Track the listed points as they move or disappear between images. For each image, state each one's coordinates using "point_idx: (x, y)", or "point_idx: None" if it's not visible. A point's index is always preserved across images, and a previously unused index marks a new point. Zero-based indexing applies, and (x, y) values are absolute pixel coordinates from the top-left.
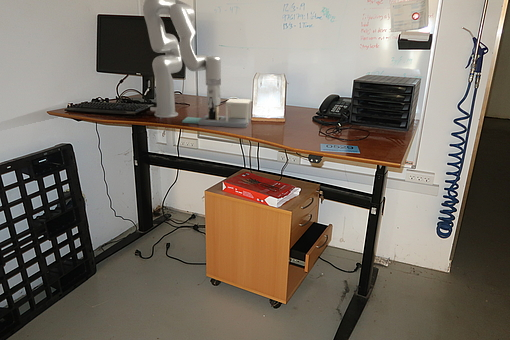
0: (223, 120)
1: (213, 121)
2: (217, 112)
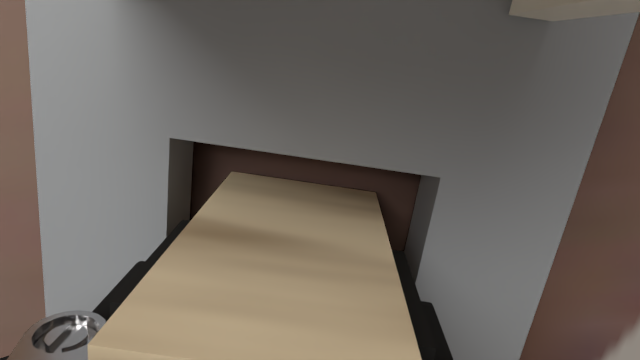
0: (431, 83)
1: (519, 263)
2: (326, 276)
